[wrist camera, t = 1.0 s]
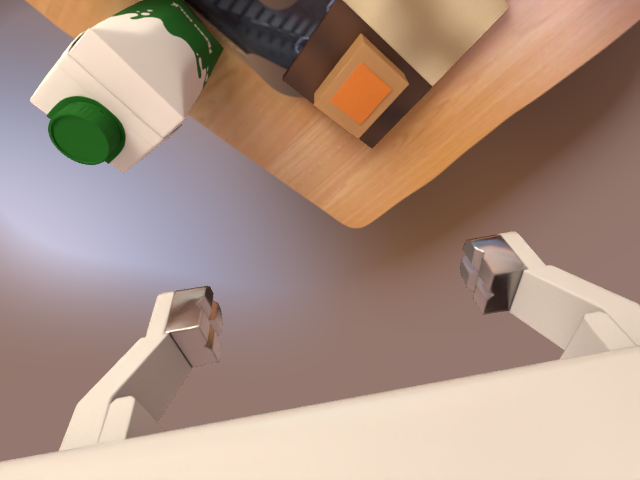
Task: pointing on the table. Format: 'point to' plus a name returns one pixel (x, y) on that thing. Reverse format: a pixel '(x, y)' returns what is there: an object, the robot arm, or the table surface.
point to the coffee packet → (360, 87)
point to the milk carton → (127, 83)
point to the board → (395, 45)
